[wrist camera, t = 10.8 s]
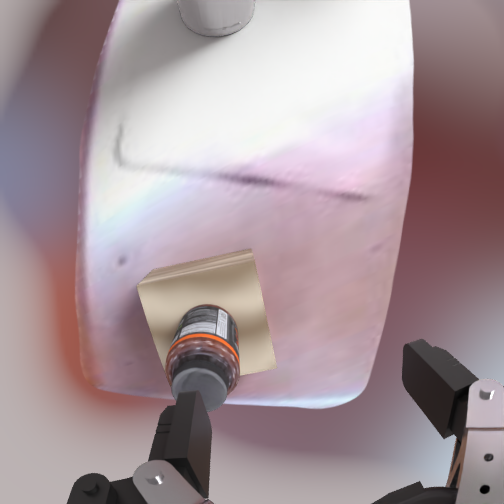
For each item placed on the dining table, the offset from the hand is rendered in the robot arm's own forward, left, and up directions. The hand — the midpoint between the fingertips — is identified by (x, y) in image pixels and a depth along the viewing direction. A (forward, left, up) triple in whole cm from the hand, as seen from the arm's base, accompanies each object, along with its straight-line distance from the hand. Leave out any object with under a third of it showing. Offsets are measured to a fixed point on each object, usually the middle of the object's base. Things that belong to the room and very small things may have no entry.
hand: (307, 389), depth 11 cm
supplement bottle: (+5, -7, -21) cm, 22 cm away
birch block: (+5, -7, -27) cm, 29 cm away
